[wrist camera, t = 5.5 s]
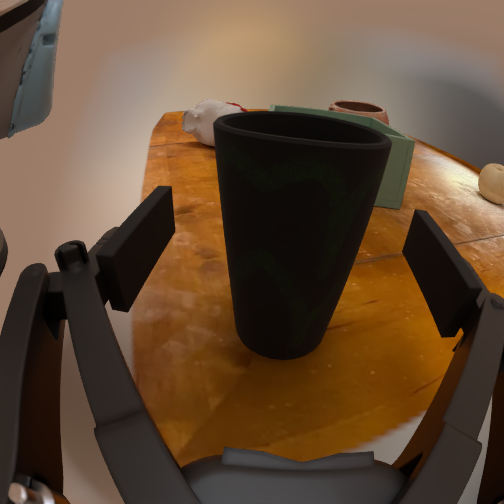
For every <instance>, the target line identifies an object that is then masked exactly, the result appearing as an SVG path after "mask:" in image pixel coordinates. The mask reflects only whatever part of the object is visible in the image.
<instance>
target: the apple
mask: <svg viewBox="0 0 504 504" xmlns="http://www.w3.org/2000/svg"><path fill="white" fill-rule="evenodd" d="M478 185H479V190H480V192H481V194H482V195H483V197H485V198H486V199H488V200H490V201H491V202H494V203H496V204H503V203H504V166H502V165H499V164H488V165H486V166H485V167H484V168H483V169H482V171H481V173H480V175H479V180H478Z"/></svg>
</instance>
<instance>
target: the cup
mask: <svg viewBox="0 0 504 504" xmlns="http://www.w3.org/2000/svg"><path fill="white" fill-rule="evenodd" d="M213 132H214V142H215V153H216V163H217V173H218V182H219V192H220V201H221V210H222V219H223V228H224V237H225V245H226V254H227V262H228V270H229V278H230V286H231V294H232V302H233V310H234V317H235V325H236V329H237V333H238V336H239V337H240V339H241V341H242V342H243V343H244V344H245V345H246V346H247V347H248V348H249V349H250V350H252V351H254V352H255V353H257V354H259V355H262V356H265V357H268V358H271V359H280V360H285V359H295V358H298V357H301V356H304V355H306V354H308V353H310V352H311V351H313V350H314V349H315V348H316V347H317V346H318V345H319V344H320V342H321V340H322V338H323V335H324V333H325V331H326V329H327V326H328V324H329V322H330V320H331V317H332V315H333V313H334V310H335V308H336V306H337V303H338V301H339V299H340V296H341V294H342V291H343V289H344V286H345V284H346V281H347V279H348V276H349V274H350V271H351V269H352V266H353V263H354V261H355V258H356V255H357V253H358V250H359V247H360V245H361V242H362V239H363V236H364V233H365V231H366V228H367V225H368V222H369V219H370V216H371V213H372V210H373V207H374V204H375V201H376V198H377V195H378V191H379V188H380V185H381V182H382V178H383V175H384V172H385V168H386V165H387V161H388V158H389V154H390V151H391V147H392V141H391V139H390V138H389V137H388V136H387V135H385V134H383V133H382V132H380V131H377V130H375V129H373V128H370V127H367V126H364V125H361V124H358V123H354V122H350V121H346V120H342V119H337V118H332V117H327V116H321V115H314V114H306V113H297V112H283V111H250V112H239V113H232V114H227V115H223V116H220V117H218V118H217V119H216V120H215V121H214V122H213Z"/></svg>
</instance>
